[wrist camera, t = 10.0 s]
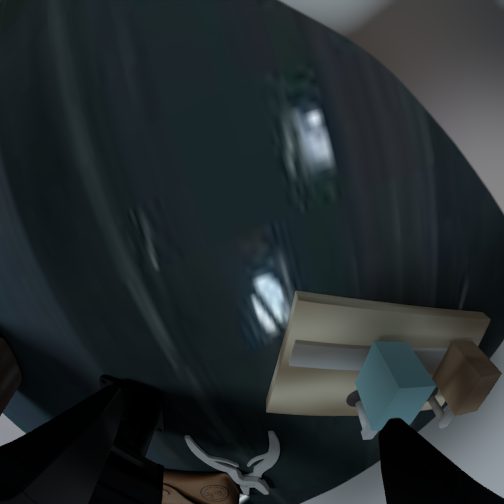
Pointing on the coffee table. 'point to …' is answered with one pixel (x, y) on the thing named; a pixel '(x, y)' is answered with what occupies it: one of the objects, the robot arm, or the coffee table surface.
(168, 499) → the sunglasses case
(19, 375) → the plant pot
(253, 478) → the pliers
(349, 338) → the beige board with blocks
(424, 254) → the coffee table surface
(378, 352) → the teal block
